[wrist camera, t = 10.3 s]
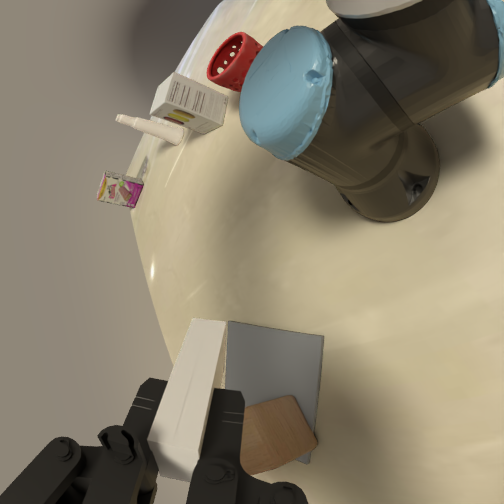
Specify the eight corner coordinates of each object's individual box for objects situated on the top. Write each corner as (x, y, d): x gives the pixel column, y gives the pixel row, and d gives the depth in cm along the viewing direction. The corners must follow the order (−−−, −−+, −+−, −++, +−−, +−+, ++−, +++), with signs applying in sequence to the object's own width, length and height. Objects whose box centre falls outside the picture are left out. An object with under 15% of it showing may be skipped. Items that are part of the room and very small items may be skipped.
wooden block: (322, 445, 37) (250, 470, 47) (294, 391, 43) (231, 428, 53) (275, 469, 31) (207, 485, 40) (245, 405, 36) (188, 438, 46)
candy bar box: (134, 208, 113) (96, 201, 102) (133, 202, 116) (96, 195, 106) (144, 184, 108) (105, 175, 98) (142, 179, 112) (104, 170, 101)
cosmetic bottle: (182, 141, 87) (117, 121, 73) (173, 148, 92) (111, 129, 78) (185, 125, 88) (122, 104, 74) (176, 132, 93) (116, 113, 78)
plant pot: (290, 81, 54) (245, 53, 46) (248, 112, 63) (204, 91, 55) (282, 46, 57) (242, 21, 49) (245, 76, 66) (206, 56, 59)
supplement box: (203, 135, 77) (148, 115, 66) (209, 107, 78) (157, 86, 67) (223, 125, 70) (163, 101, 59) (229, 95, 71) (173, 70, 60)
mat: (230, 320, 58) (228, 320, 58) (323, 335, 41) (321, 336, 41) (226, 421, 55) (223, 422, 55) (309, 463, 39) (306, 464, 38)
